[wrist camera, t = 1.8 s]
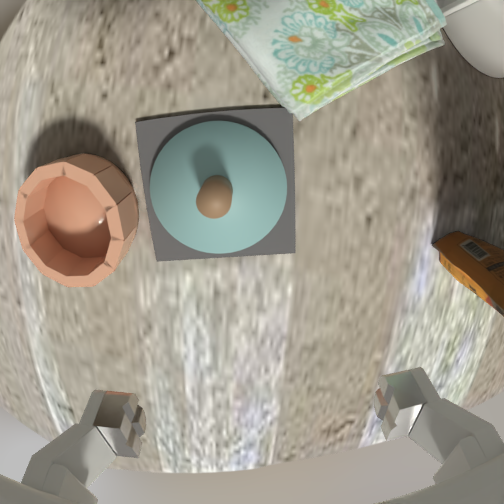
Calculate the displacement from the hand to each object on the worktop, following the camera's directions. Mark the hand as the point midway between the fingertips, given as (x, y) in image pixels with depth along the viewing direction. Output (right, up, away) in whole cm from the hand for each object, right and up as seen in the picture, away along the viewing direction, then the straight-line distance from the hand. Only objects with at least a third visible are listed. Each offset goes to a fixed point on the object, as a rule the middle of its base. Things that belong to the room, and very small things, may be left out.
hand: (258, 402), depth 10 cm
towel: (+5, +28, +11) cm, 31 cm away
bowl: (-17, +9, +20) cm, 28 cm away
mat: (-3, +11, +20) cm, 23 cm away
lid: (-3, +11, +19) cm, 22 cm away
